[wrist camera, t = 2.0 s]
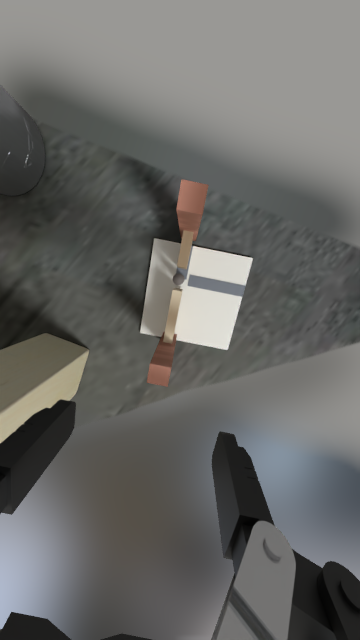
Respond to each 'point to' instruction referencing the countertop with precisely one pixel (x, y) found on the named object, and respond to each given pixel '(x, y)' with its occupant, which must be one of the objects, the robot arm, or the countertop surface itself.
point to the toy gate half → (165, 345)
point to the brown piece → (189, 220)
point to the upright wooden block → (37, 378)
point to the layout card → (195, 293)
